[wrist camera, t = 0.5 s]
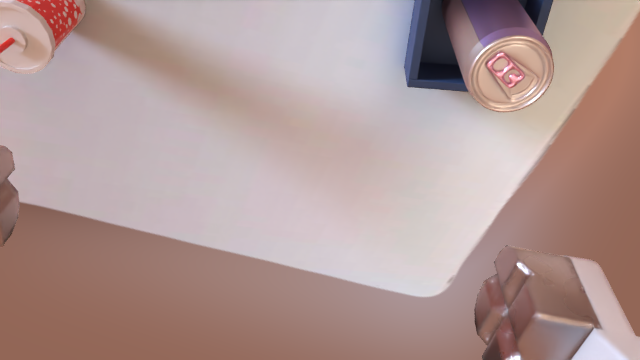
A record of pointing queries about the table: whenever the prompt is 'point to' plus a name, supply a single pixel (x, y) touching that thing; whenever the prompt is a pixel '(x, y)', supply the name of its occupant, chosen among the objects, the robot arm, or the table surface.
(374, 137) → the table surface
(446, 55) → the open storage box
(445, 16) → the beverage can
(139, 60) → the table surface
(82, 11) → the beverage cup
